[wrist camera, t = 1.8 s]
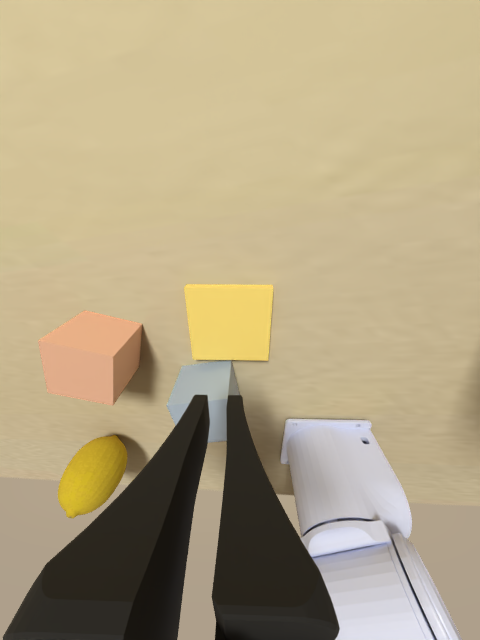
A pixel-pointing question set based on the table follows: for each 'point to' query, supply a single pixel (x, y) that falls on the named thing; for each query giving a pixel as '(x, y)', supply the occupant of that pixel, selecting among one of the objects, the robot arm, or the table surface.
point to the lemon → (92, 475)
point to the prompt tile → (229, 321)
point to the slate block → (205, 393)
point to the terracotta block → (91, 357)
